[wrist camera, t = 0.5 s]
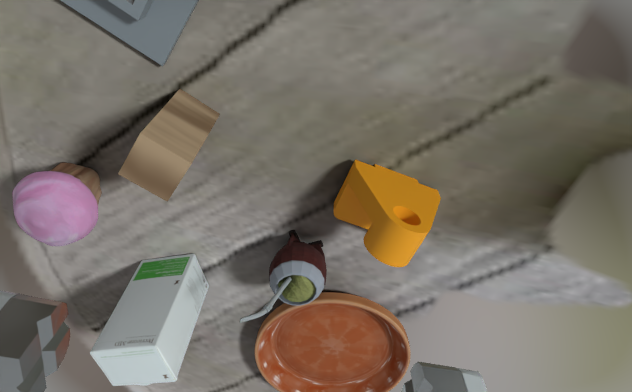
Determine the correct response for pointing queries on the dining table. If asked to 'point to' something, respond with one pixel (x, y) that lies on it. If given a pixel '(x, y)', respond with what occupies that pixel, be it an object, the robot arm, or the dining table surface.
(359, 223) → the bracket
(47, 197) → the cupcake
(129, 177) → the block
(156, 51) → the housing
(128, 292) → the skincare box
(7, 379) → the robot arm
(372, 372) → the saucer
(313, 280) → the mate gourd
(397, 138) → the dining table surface
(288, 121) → the dining table surface
